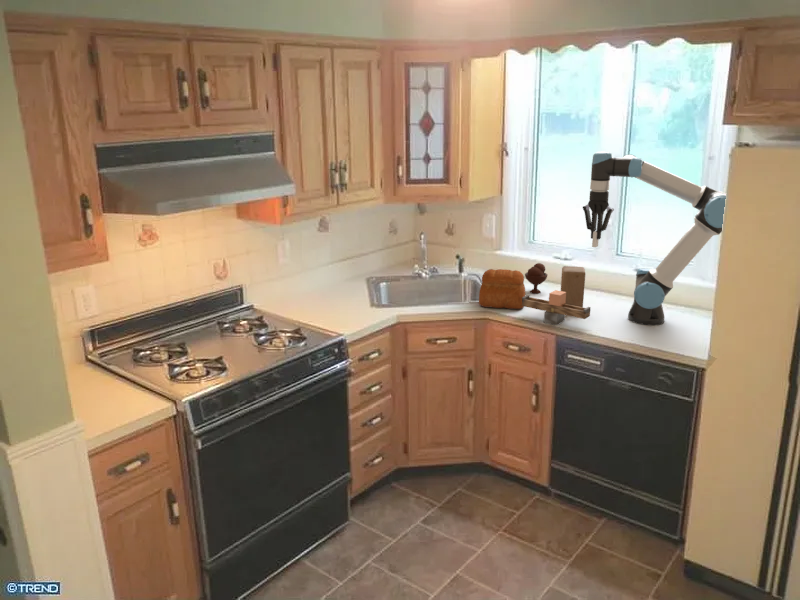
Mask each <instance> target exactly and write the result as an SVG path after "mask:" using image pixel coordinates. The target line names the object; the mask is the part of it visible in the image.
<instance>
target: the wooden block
mask: <svg viewBox="0 0 800 600" xmlns="http://www.w3.org/2000/svg"><path fill="white" fill-rule="evenodd" d="M560 278H561V279H560V280H561V281H560V291H563V292H566V303H565V304H568V305H573V306H578V307H583V308H584V296H585V295H584V294H585V283H586V269H585V267H583V266H566V265H565V266H562V267H561V277H560Z"/></svg>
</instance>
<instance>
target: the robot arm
mask: <svg viewBox="0 0 800 600" xmlns="http://www.w3.org/2000/svg"><path fill="white" fill-rule="evenodd" d="M591 161H592V162H591V171H590V173H591V174H590V187H589V201H588V203H587V204H585V205H584V206H582V209H583V212H584V218H585V223H586V224H585V225H586V229H587V230H589V231H590V239H592V243H591V244H592V245H591V247H592V248H597V247H599V240H600V239H602V237H601V236H602V232H604V231H606V230H607V228H608V226H609V225H608V224H609V221H610V219H611V216H612V213H613V212H614V211H615V209H614V208H613V207H611V206H610V203H609V198H610V197H609V196H610V195H609V194H610V192H609V191H610V183H611V182H610V180H611V177H623V178H624V177H625V178H635V179H638V180H639V181H642V182H644V183H645V184H648V185H650V186H653V187H655V188H657V189H659V190H661V191H663V192H666V193H668V194H670V195H672V196H675V197H677V198H679V199H681V200H683V201H685V202H688V203H689V204H691V205H692V208H694V209H697V210H699V211H698V212H697V213H695V214H696V215H694V217H693V220H694V223H693V224H692V225H691V226H690V228H689V229H688V230H687V231H686V232H685V233H684V235H683V236H682V237H681V238H680V239H679V240H678V242H677V243H676V244H675V245H674V246H673V247H672V249H671V250H670V251H669V252H668V253H667V255H666V256H665V257H664V258H663V260H661V262H660V263H659V264H658V265H657V266H656V268H647V267H646V268H637V270H636V274H635V276H636V277H635V287H634V291H633V296H634V297H633V302H632V305H631V307H630V308H629V311H628V314H627V315H628V316H627V319H628V320H629V321H630V322H633V323H636V324H640V325H646V326H658V325H661V324H663V323H664V322H665V312H664V309H663V305H662V304H663V303H664V301H665V298H666V296H667V295H668V294H669V292H671V290H672V289H673V288H674V281H675V280H676V278H677V279H678V277H679V275H681V274H682V272H683V271H684V270H685V269H686V268H687V266H688V265H689V264H690V262H691V261H692V260H693V259H694V258H695V257H696V256H697V254H699V252H701V250H702V249H703V248H704V247H705V245H706V244H708V242H709V241H710V239H712V237H713V236H717V235H718V236H719V235H720V234H721V233H722V232H723V231H722V224H723V214H724V207H725V199H726V194H727V193H726V192H724V191H721V190H717V189H714V188H711V187H709V186H707V185H703V186H700V185H698V184H696V183H694V182H691V181H689V180H687V179H685V178H683V177H681V176H678V175H677V174H673V173H671V172H669V171H667V170H664V169H662V168H661V167H658V166H656V165H654V164H652V163H649V162H647V161H644V160H643V159H642V158H639V157H636V155H633V154H625V155H623V156H622V157H613V153H612V152H610V151H607V152H606V151H596V152H594V153H593V154H592V160H591ZM605 211H606V214H605V216H604V213H605Z"/></svg>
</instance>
